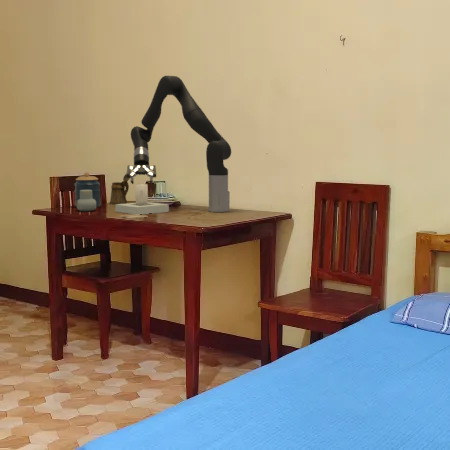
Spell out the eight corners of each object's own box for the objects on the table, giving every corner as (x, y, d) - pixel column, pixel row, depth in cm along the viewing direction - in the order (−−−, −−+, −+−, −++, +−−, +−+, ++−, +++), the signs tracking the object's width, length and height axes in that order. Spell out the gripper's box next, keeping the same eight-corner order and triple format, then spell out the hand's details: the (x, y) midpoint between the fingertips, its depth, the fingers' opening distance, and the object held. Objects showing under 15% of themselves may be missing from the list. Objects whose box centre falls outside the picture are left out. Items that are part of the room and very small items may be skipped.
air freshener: (97, 211, 295) (96, 190, 294) (79, 212, 292) (78, 191, 291) (93, 209, 305) (92, 189, 304) (76, 210, 302) (75, 189, 301)
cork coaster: (147, 217, 273) (147, 216, 273) (130, 219, 267) (130, 217, 267) (136, 215, 279) (136, 214, 279) (119, 217, 273) (119, 215, 273)
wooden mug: (127, 205, 325) (126, 170, 322) (106, 203, 331) (105, 170, 329) (137, 203, 333) (136, 169, 330) (116, 202, 339) (115, 169, 336)
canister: (74, 205, 321) (72, 171, 319) (99, 205, 325) (98, 171, 323) (75, 208, 309) (74, 173, 307) (102, 207, 313) (101, 172, 310)
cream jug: (136, 211, 296) (135, 184, 295) (148, 211, 297) (147, 183, 295) (136, 213, 289) (135, 185, 287) (148, 212, 289) (147, 185, 288)
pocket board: (168, 211, 293) (168, 204, 293) (137, 215, 281) (137, 207, 281) (146, 208, 307) (146, 201, 306) (115, 211, 295) (115, 204, 294)
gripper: (126, 153, 305) (126, 177, 295) (155, 153, 306) (156, 177, 297) (127, 163, 311) (127, 188, 301) (155, 163, 312) (156, 187, 303)
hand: (141, 182), depth 299 cm, fingers open, 8 cm apart
